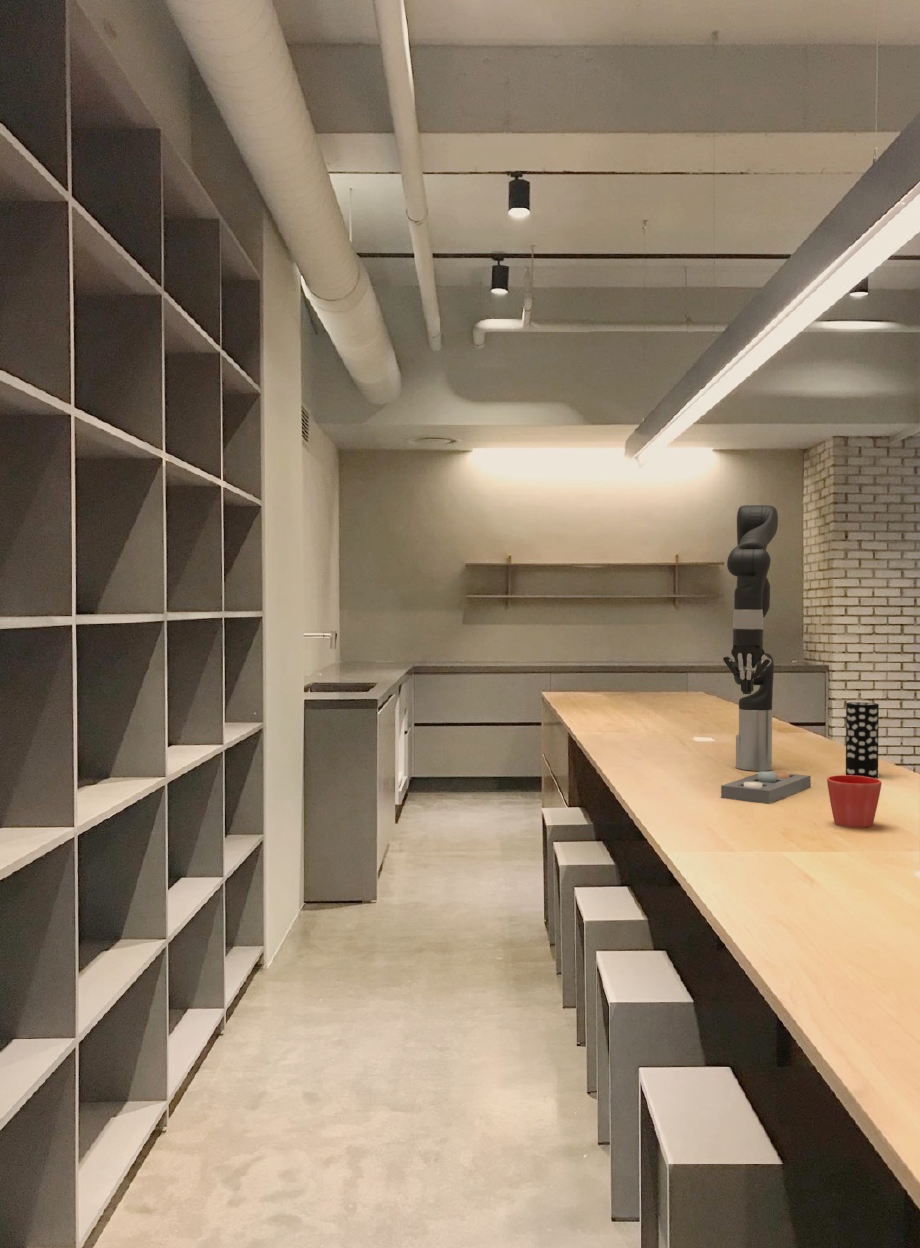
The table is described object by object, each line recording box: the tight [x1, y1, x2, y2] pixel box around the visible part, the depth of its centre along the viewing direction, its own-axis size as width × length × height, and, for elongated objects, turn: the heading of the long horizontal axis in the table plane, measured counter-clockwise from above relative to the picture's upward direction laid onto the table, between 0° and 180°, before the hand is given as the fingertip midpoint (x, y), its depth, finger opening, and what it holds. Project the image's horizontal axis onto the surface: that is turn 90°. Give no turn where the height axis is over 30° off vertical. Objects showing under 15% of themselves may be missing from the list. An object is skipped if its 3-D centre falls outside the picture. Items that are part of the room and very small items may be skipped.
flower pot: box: [826, 774, 883, 829], centre depth 220 cm, size 11×11×10 cm
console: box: [720, 772, 812, 804], centre depth 258 cm, size 12×28×3 cm, turn 142°
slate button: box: [757, 770, 777, 783], centre depth 258 cm, size 4×4×3 cm
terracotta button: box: [775, 771, 791, 778], centre depth 265 cm, size 4×4×3 cm
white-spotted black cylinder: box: [845, 701, 880, 779], centre depth 282 cm, size 8×8×20 cm
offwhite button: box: [744, 782, 762, 788], centre depth 250 cm, size 4×4×3 cm
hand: (747, 693), depth 265 cm, fingers closed
